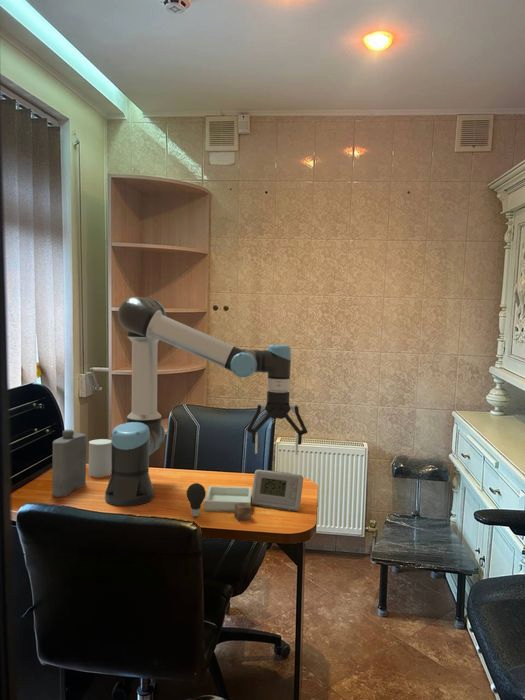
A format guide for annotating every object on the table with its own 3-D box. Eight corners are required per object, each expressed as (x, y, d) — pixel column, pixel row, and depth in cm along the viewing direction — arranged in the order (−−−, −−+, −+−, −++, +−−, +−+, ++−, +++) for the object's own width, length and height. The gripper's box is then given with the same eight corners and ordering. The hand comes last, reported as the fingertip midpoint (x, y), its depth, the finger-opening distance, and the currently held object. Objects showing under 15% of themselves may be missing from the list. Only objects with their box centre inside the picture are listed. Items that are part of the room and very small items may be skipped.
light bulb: (206, 513, 156) (207, 481, 155) (202, 521, 150) (203, 487, 150) (188, 512, 157) (189, 480, 156) (183, 519, 151) (184, 486, 150)
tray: (204, 510, 158) (204, 501, 158) (208, 495, 172) (209, 486, 172) (250, 512, 158) (250, 502, 158) (251, 496, 172) (251, 487, 172)
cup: (106, 469, 197) (106, 438, 196) (115, 474, 191) (115, 442, 190) (84, 473, 192) (85, 440, 191) (93, 478, 186) (94, 445, 185)
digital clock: (247, 505, 165) (248, 472, 164) (261, 496, 173) (262, 465, 172) (293, 516, 157) (295, 481, 156) (306, 507, 165) (307, 474, 164)
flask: (73, 482, 181) (73, 425, 180) (88, 483, 180) (89, 426, 179) (46, 496, 167) (47, 434, 165) (62, 498, 165) (63, 436, 164)
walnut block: (238, 522, 151) (238, 508, 151) (234, 516, 155) (234, 503, 154) (251, 520, 152) (251, 507, 152) (247, 515, 156) (247, 502, 156)
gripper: (240, 391, 171) (238, 454, 172) (316, 393, 171) (314, 457, 172) (241, 388, 178) (239, 449, 179) (314, 390, 178) (312, 451, 179)
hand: (276, 453), depth 176 cm, fingers open, 13 cm apart
